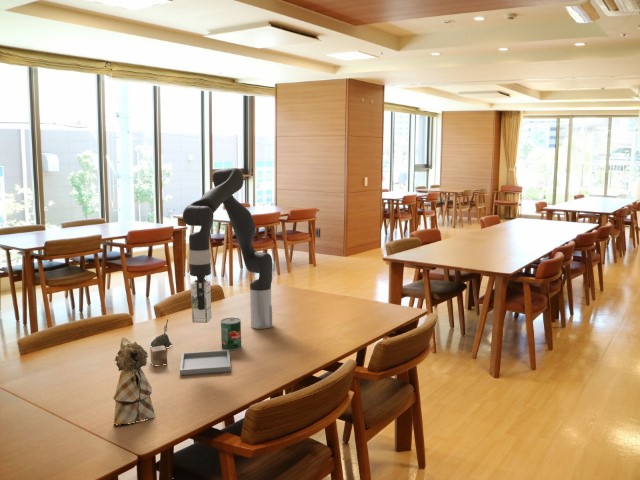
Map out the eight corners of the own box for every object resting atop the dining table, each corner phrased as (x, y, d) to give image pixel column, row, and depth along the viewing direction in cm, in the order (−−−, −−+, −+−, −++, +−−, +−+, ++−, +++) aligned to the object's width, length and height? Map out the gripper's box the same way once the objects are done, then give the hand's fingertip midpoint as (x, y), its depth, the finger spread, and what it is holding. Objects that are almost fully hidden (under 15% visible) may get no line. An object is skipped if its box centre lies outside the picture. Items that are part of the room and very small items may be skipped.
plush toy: (170, 402, 185) (147, 328, 180) (160, 424, 171) (135, 344, 166) (126, 412, 185) (102, 338, 180) (113, 435, 171) (86, 356, 167)
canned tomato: (237, 351, 233) (236, 324, 231) (218, 349, 234) (217, 322, 233) (244, 344, 241) (243, 318, 239) (225, 343, 242) (224, 317, 240)
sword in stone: (144, 347, 239) (143, 317, 238) (160, 342, 246) (159, 314, 244) (161, 351, 233) (160, 322, 232) (176, 346, 240) (176, 317, 238)
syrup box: (212, 318, 218) (210, 280, 216) (207, 323, 213) (205, 283, 210) (197, 318, 219) (195, 279, 217) (191, 323, 213) (190, 283, 211)
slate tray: (229, 355, 228) (229, 349, 228) (230, 372, 211) (230, 366, 211) (182, 358, 225) (182, 352, 225) (180, 376, 208) (179, 370, 208)
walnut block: (164, 360, 223) (163, 345, 222) (167, 365, 219) (166, 349, 218) (151, 362, 221) (150, 347, 220) (153, 367, 217) (152, 351, 216)
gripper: (210, 265, 206) (212, 311, 209) (210, 257, 220) (212, 301, 223) (188, 266, 205) (190, 312, 207) (190, 258, 219) (192, 302, 221)
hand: (201, 306), depth 215 cm, fingers closed on syrup box, 6 cm apart
